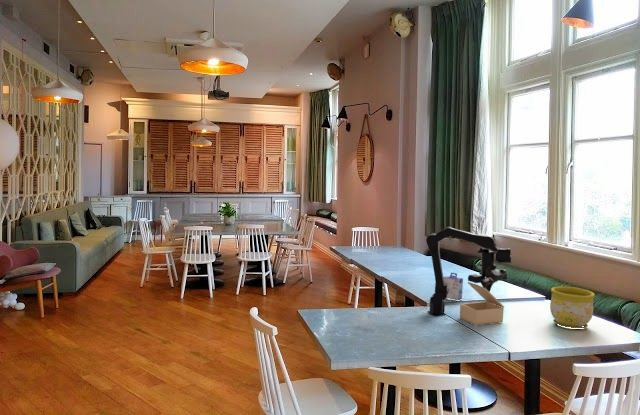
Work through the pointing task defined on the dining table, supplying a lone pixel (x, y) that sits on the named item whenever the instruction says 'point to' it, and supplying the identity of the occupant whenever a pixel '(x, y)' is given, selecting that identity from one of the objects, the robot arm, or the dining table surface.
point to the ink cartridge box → (454, 286)
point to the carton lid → (485, 294)
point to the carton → (481, 313)
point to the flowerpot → (571, 306)
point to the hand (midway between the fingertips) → (487, 294)
